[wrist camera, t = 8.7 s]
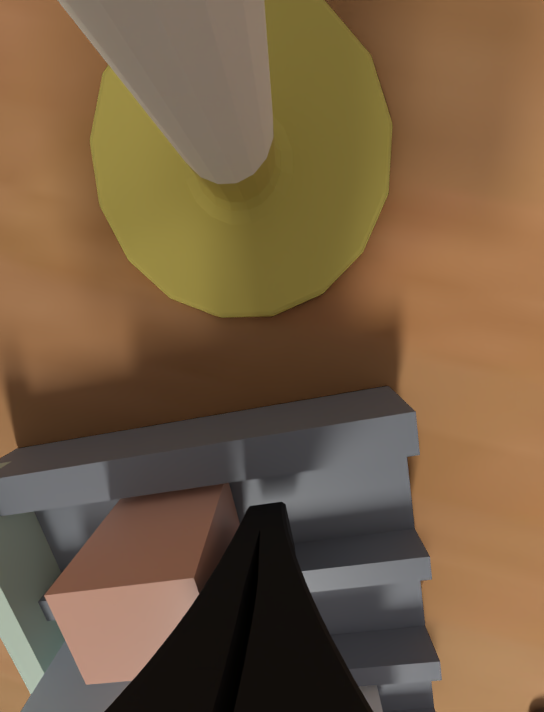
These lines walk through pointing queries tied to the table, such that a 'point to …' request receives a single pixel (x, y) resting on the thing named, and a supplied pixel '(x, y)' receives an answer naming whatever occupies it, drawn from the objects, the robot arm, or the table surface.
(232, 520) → the clay pink cube
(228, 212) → the candle
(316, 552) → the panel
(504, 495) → the table surface
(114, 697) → the pale blue tilted box
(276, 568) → the robot arm
